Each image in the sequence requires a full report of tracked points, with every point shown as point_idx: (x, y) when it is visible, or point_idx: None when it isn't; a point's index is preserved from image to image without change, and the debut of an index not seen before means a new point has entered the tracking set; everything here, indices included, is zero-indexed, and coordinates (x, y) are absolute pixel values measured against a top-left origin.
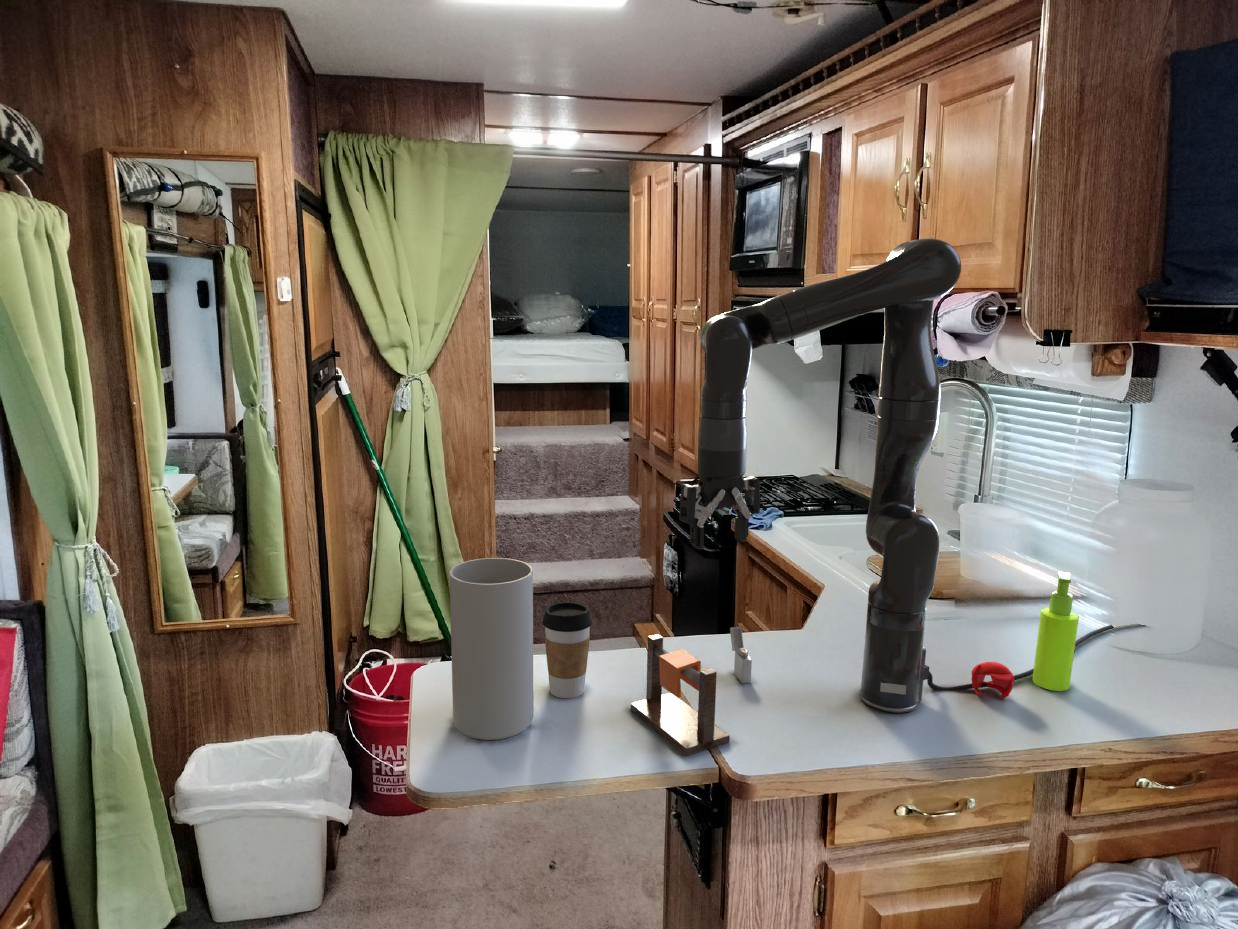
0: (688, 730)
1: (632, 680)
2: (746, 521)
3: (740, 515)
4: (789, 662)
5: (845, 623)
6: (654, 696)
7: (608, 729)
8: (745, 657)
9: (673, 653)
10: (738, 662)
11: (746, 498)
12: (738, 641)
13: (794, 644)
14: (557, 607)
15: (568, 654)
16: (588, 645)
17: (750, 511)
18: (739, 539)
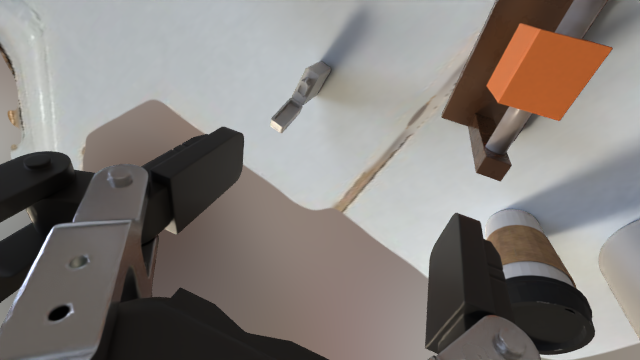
0: (553, 12)
1: (427, 182)
2: (160, 165)
3: (153, 216)
4: (236, 59)
5: (113, 74)
6: (489, 120)
7: (596, 125)
8: (309, 78)
9: (532, 103)
10: (315, 88)
11: (13, 274)
12: (286, 111)
13: (197, 87)
14: None
15: (559, 260)
16: (513, 252)
17: (82, 190)
18: (239, 152)
